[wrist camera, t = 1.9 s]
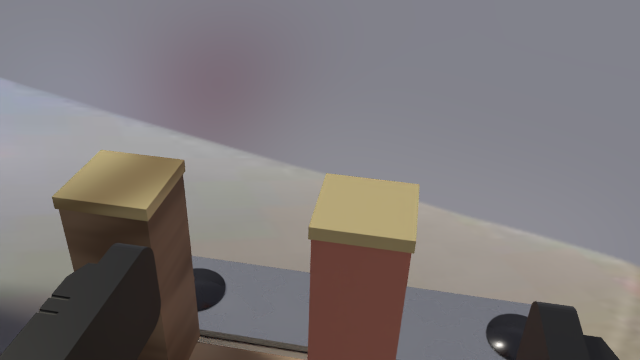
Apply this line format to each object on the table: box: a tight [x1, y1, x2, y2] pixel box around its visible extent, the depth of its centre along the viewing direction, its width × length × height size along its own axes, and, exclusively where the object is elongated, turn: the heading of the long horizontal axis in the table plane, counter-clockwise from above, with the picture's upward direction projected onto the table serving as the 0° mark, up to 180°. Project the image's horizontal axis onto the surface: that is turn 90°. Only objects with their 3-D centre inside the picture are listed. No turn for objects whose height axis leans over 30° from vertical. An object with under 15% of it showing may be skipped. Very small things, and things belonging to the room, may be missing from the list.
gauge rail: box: [52, 150, 304, 360], centre depth 28 cm, size 25×4×13 cm, turn 80°
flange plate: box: [192, 256, 531, 360], centre depth 36 cm, size 25×6×1 cm, turn 80°
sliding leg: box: [308, 173, 419, 360], centre depth 27 cm, size 4×4×12 cm
